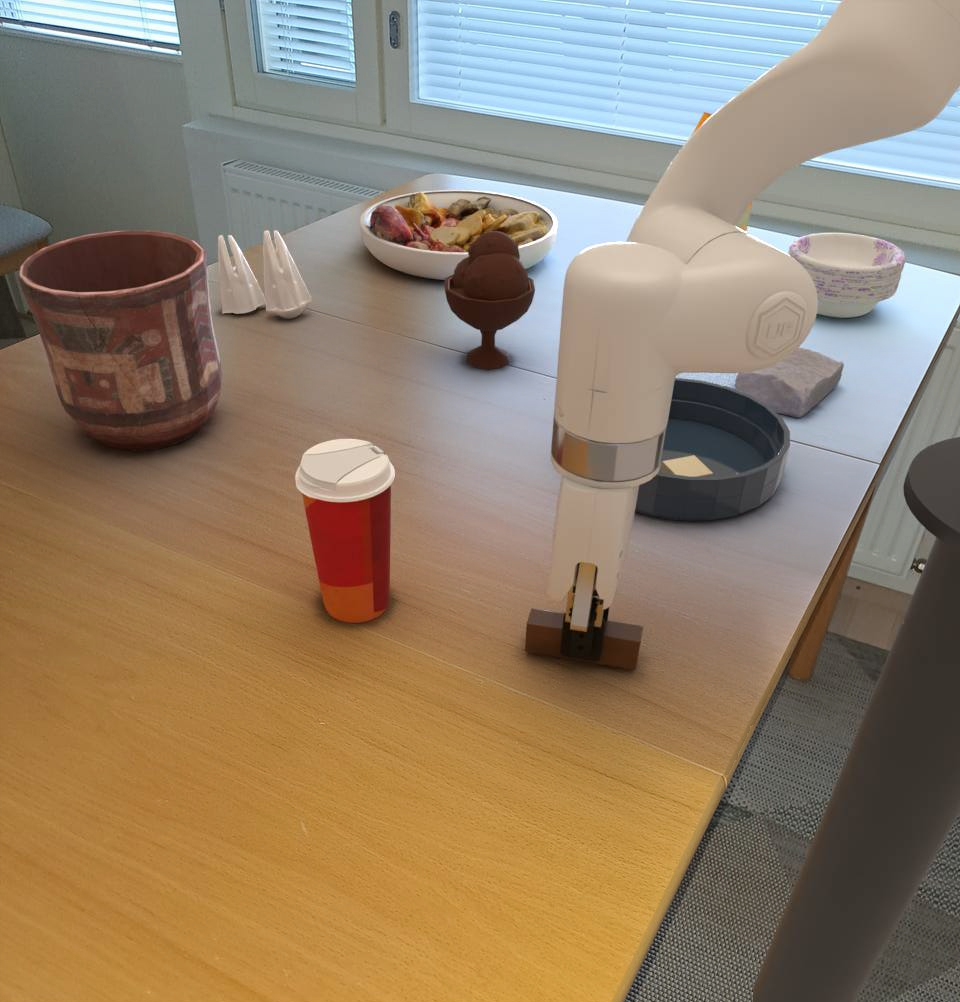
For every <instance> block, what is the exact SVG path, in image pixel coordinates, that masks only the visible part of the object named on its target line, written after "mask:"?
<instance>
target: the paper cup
mask: <svg viewBox="0 0 960 1002" xmlns="http://www.w3.org/2000/svg"><path fill="white" fill-rule="evenodd" d="M384 453H385V451H383V450H382V449H380V447H378V446H377V445H374V444H373V443H372V442H371V441H367V440H363V439H358V438H338V439H330V440H327V441H322V442H320V443H318V444H315V445H313V446H312V447H310V448H308V449H307V450H306V451H305V452H304V453H303V455H302V456H301V461H300V464H299V466H298V468H297V469H296V472H295V474H294V480H295V487H296V489H297V491H299V492H300V493H301V496H302V502H303V507H304V511H305V516H306V522H307V527H308V533H309V538H310V542H311V548H312V552H313V558H314V564H315V568H316V571H317V572H316V573H317V578H318V582H319V587H320V593H321V597H322V602H323V605H324V609H325V611H326V612H327V614H328V615H329V616H331V617H332V618H333V619H335V620H337V621H340V622H343V623H350V624H359V623H365V622H366V623H367V622H369V621H373V620H375V619H377V618H378V617H380V616H381V615H382V614H383V613H385V611H386V610H387V609H388V607H389V603H390V589H391V587H390V586H391V531H392V530H391V529H392V528H391V525H392V524H391V523H392V519H391V518H392V484H393V482H394V480H395V477H396V470H395V467H394V465H393V464H392V462H391V461H390V459H389V456H388V454H384Z"/></svg>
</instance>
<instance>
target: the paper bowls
mask: <svg viewBox="0 0 960 1002" xmlns="http://www.w3.org/2000/svg"><path fill="white" fill-rule="evenodd" d="M787 254H788V255H790V256H791V257H792V258H794V259H795V260H796V261H797V262H799V263H800V264H801V265H802V266H803V267H804V268H805V269H806V271H807V272H808V273H809V275H810V276H811V278H812V280H813V282H814V285H815V287H816V291H817V298H818V310H817V314H816V315H820V316H824V317H830V318H838V319H846V318H847V319H849V318H850V319H851V318H857V317H861V316H864V315H866V314H868V313H870V312H871V311H872V310H873V309H874V308H875V307H876V305H877V304H878V303H879V302H883V301H886V300H889V299H890V298H892V297H894V296H895V294H896V292H897V290H898V288H899V284H900V281H901V278H902V272H903V270H904V268H905V264H906V260H907V259H906V258H907V257H906V254H905V251H903V250H902V249H901V248H900V247H899V246H897V245H895V244H893V243H891V242H889V241H886V240H884V239H881V238H877V237H872V236H868V235H863V234H857V233H856V234H855V233H849V232H848V233H847V232H820V233H819V232H818V233H812V234H807V235H803V236H800V237H798V238H796V239H795V240H793V241H792V242H791V243H790V245H789V247H788V252H787Z"/></svg>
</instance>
